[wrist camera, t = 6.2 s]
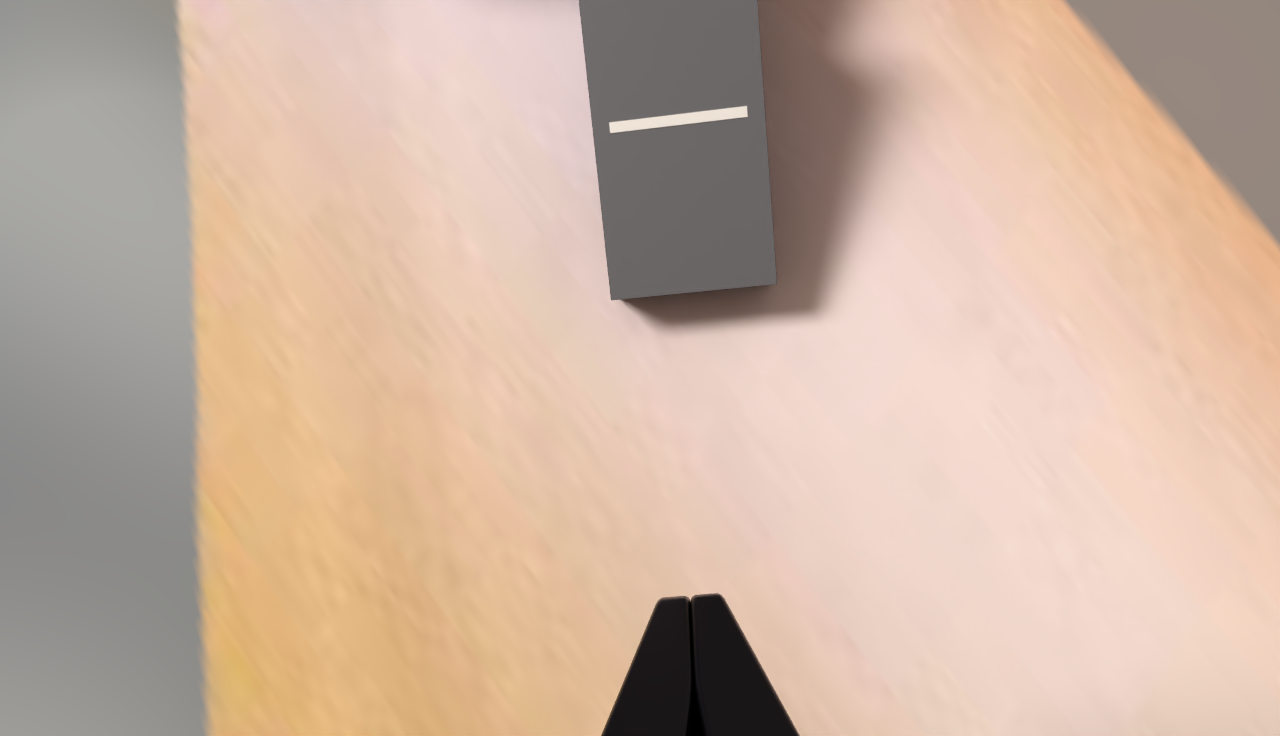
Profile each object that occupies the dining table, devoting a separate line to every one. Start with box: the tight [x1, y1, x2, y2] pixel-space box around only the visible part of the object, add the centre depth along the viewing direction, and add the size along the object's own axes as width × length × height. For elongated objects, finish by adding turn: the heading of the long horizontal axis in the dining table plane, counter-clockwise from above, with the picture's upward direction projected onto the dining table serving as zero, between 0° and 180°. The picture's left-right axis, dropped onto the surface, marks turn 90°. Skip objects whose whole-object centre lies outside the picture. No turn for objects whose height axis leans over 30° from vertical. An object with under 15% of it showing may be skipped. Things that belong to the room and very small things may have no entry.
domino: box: [579, 0, 777, 300], centre depth 20 cm, size 2×5×10 cm
